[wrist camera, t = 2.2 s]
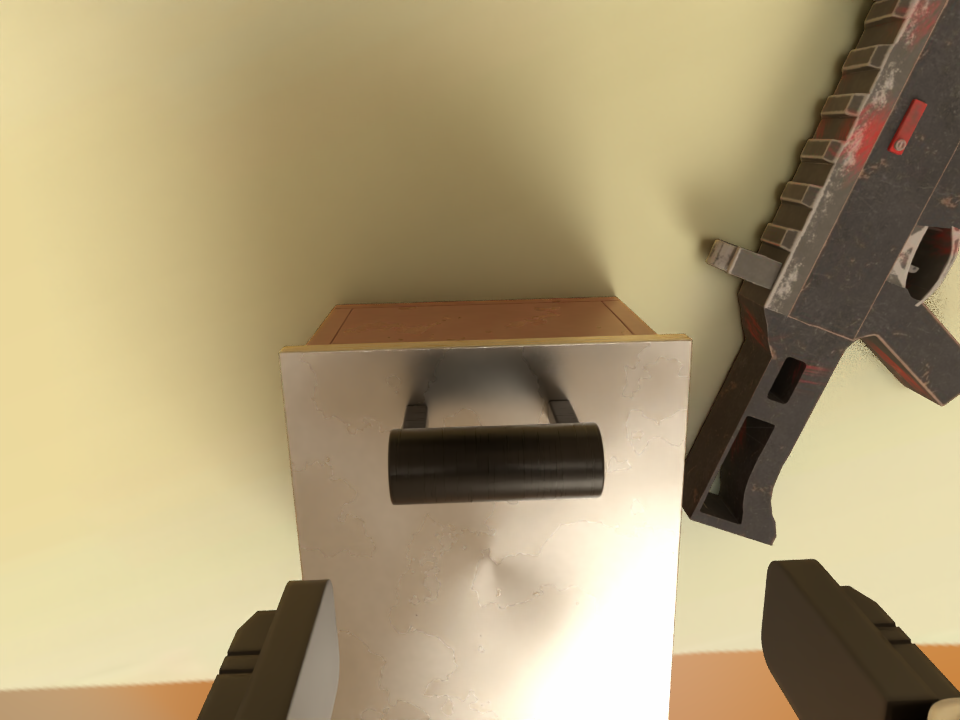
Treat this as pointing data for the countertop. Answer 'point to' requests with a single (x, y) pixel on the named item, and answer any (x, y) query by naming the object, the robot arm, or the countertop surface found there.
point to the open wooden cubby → (478, 321)
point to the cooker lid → (494, 521)
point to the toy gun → (843, 261)
